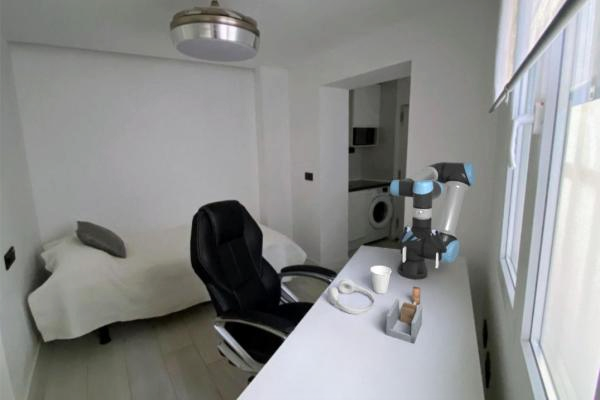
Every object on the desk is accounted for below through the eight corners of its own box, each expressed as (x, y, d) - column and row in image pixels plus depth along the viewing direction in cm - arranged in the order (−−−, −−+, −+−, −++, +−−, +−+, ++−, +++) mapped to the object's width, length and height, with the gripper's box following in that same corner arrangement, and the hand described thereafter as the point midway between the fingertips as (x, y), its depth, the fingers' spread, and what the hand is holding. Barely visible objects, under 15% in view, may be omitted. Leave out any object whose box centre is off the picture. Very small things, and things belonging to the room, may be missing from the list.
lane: (395, 317, 122) (396, 299, 121) (421, 324, 117) (422, 305, 115) (386, 334, 111) (386, 315, 110) (414, 343, 106) (415, 323, 105)
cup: (392, 297, 138) (392, 274, 136) (370, 295, 140) (370, 273, 138) (390, 286, 147) (390, 265, 145) (369, 285, 149) (369, 264, 147)
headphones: (321, 287, 134) (359, 310, 121) (345, 273, 146) (382, 292, 133) (320, 301, 136) (357, 324, 123) (344, 286, 149) (379, 306, 136)
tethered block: (410, 299, 135) (411, 285, 133) (422, 302, 132) (423, 288, 131) (400, 321, 119) (401, 305, 118) (413, 325, 117) (414, 308, 115)
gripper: (389, 216, 130) (389, 261, 134) (453, 222, 116) (450, 273, 121) (394, 212, 136) (393, 256, 140) (456, 217, 123) (453, 266, 127)
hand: (420, 264), depth 131 cm, fingers open, 13 cm apart
